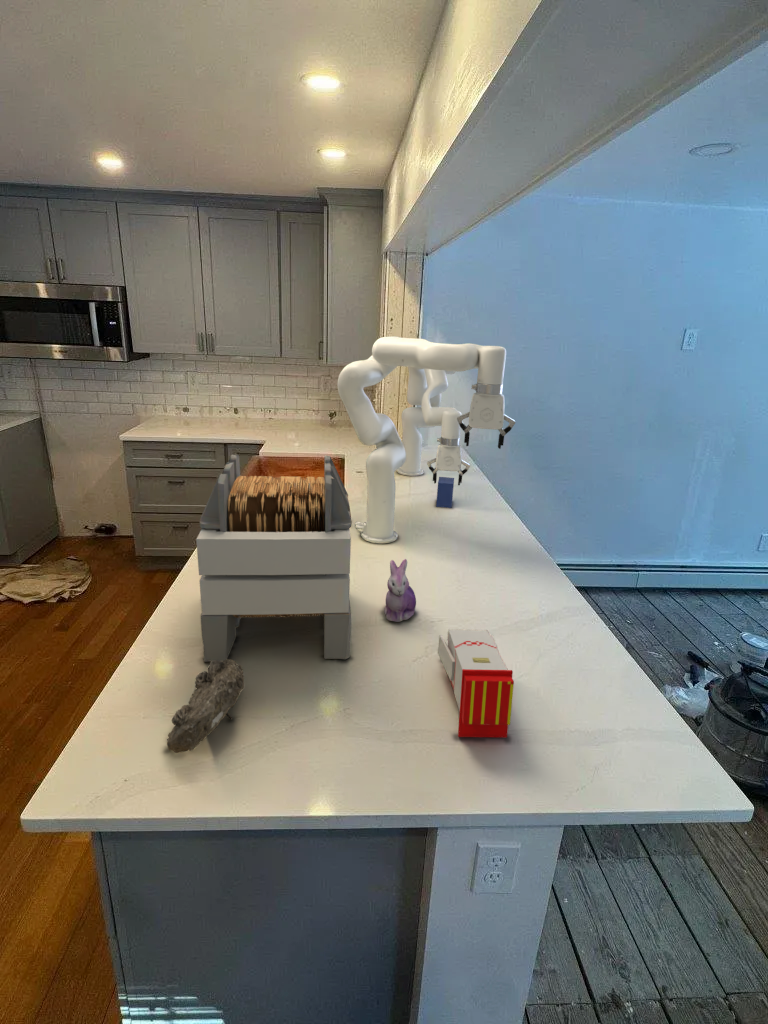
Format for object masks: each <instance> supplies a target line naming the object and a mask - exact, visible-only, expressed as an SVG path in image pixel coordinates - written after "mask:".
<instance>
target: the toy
mask: <svg viewBox="0 0 768 1024" xmlns="http://www.w3.org/2000/svg"><path fill="white" fill-rule="evenodd" d="M446 640H447V643H446V641H445V639H444V636H443V635H442V634H439V637H438V646H437V656H438V657H439V659H440V661H441V663H442V666H443V668H444V670H445V672H446V674H447V677H448V679H449V681H450V684H451V687H452V690H453V693H454V697H455V701H456V705H457V708H458V711H459V714H458V715H459V716H458V730H457V731H458V732H457V737H458V738H508V731H509V726H510V725H511V717H512V707H513V697H514V696H513V695H514V684H515V680H514V679H513V673H514V671H513V670H512V669H508V667H507V665H506V662H505V661H504V659H503V658H502V655H501V653H500V651H499V649H498V647H497V643H496V639H495V637H494V635H493V634H491V632H490V631H489V629H467V628H466V629H465V628H463V629H461V628H460V629H459V628H448V630H447V639H446Z"/></svg>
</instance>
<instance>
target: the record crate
mask: <svg viewBox="0 0 768 1024" xmlns="http://www.w3.org/2000/svg"><path fill="white" fill-rule="evenodd" d="M323 457H324V463H323V464H324V465H323V467H324V469H323V471H324V472H323V476H317V477H316V476H307V477H306V476H305V477H301V476H287V475H286V476H283V475H282V476H280V475H279V477H278V476H274V477H273V476H272V475H270V476H266V475H259V476H257V475H254V476H253V475H249V476H246V475H241V464H240V455H239V454H232V453H231V455H230V457H229V459H228V461H227V462H226V463H225V466H224V468H223V470H222V472H221V473H220V474H219V475H218V477H217V479H216V482H215V483H214V486H213V489H212V491H211V494H210V495H209V498H208V499H207V502H206V504H205V507H204V509H203V511H202V514H201V516H200V519H199V527H200V530H199V534H198V535H197V536H196V539H195V540H196V554H197V566H198V576H201V577H200V578H199V592H200V607H201V609H200V610H201V614H200V627H201V628H200V629H201V631H200V632H201V641H202V646H203V658H202V660H203V662H206V663H210V662H211V661H212V660H217V661H222V662H223V661H224V660H227V659H228V657H229V655H230V652H231V650H232V648H233V645H234V643H235V640H236V638H237V629H236V628H239V627H240V622H241V619H242V618H267V617H268V618H281V617H282V618H291V617H293V618H296V617H319V616H320V617H323V650H324V652H323V653H324V654H323V655H324V656H323V657H324V660H347V659H349V658H350V657H351V645H352V644H351V642H352V641H351V640H352V639H351V638H352V609H351V600H350V599H351V598H350V589H351V588H350V586H351V585H350V584H351V578H350V577H351V576H350V575H351V546H352V537H351V536H352V535H351V531H350V529H351V528H352V523H353V520H352V519H353V518H352V513H351V506H350V500H349V494H348V491H347V490H346V487H345V485H344V482H343V481H342V478H341V476H340V474H339V472H338V470H337V468H336V466H335V463H334V461H333V459H332V457H331V455H324V456H323Z"/></svg>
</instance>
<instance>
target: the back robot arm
mask: <svg viewBox="0 0 768 1024" xmlns="http://www.w3.org/2000/svg"><path fill="white" fill-rule="evenodd" d="M407 370H408V382H407V391H406V401H407V403H408V404H409V405H410V407H406V408H404V409H403V410H402V412H401V425H402V434H401V435H402V439H401V441H402V444H403V446H404V449H405V452H406V461H405V463H404V465H403V466H402V467H400V468H399V469H397V470H396V471H397V473H398V474H400V475H402V476H407V477H416V476H422V475H423V474H424V470H423V469H422V468H421V463H422V451H423V450H422V449H423V436H422V435H423V434H422V433H421V432H420V430H419V429H421V428H424V429H426V428H428V429H429V428H434V427H441V429H440V430H441V431H440V437H437V438H436V442H438V443H439V444H438V445H437V449H436V457H435V458H433V459H430V460H428V461H427V462H426V465H427V467H428V469H429V471H430V472H431V473H432V481H433V484H437V479H438V478H437V477H438V473H437V472H438V471H443V472H457V473H458V480H457V485H458V486H460V485H461V484H462V483H463V476H464V475H465V474H467V472H468V470H470V468H471V464H470V463H468V462H466V461H465V460H463V458H462V457H463V452H462V451H463V450H462V446H461V445H460V444H461V443H460V442H461V430H462V428H461V427H460V425H459V423H458V421H457V417H458V416H461V415H463V414H462V412H461V411H460V410H457V408H456V407H451V406H441V404H442V394H443V393H444V392H446V391H447V389H448V388H449V382H448V377H447V375H454V374H455V373H456V372H457V371H444V370H434V369H423V368H416V367H407ZM434 463H435V467H433V465H432V464H434ZM462 466H464V467H465V468H464V469H463V470H462Z"/></svg>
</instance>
